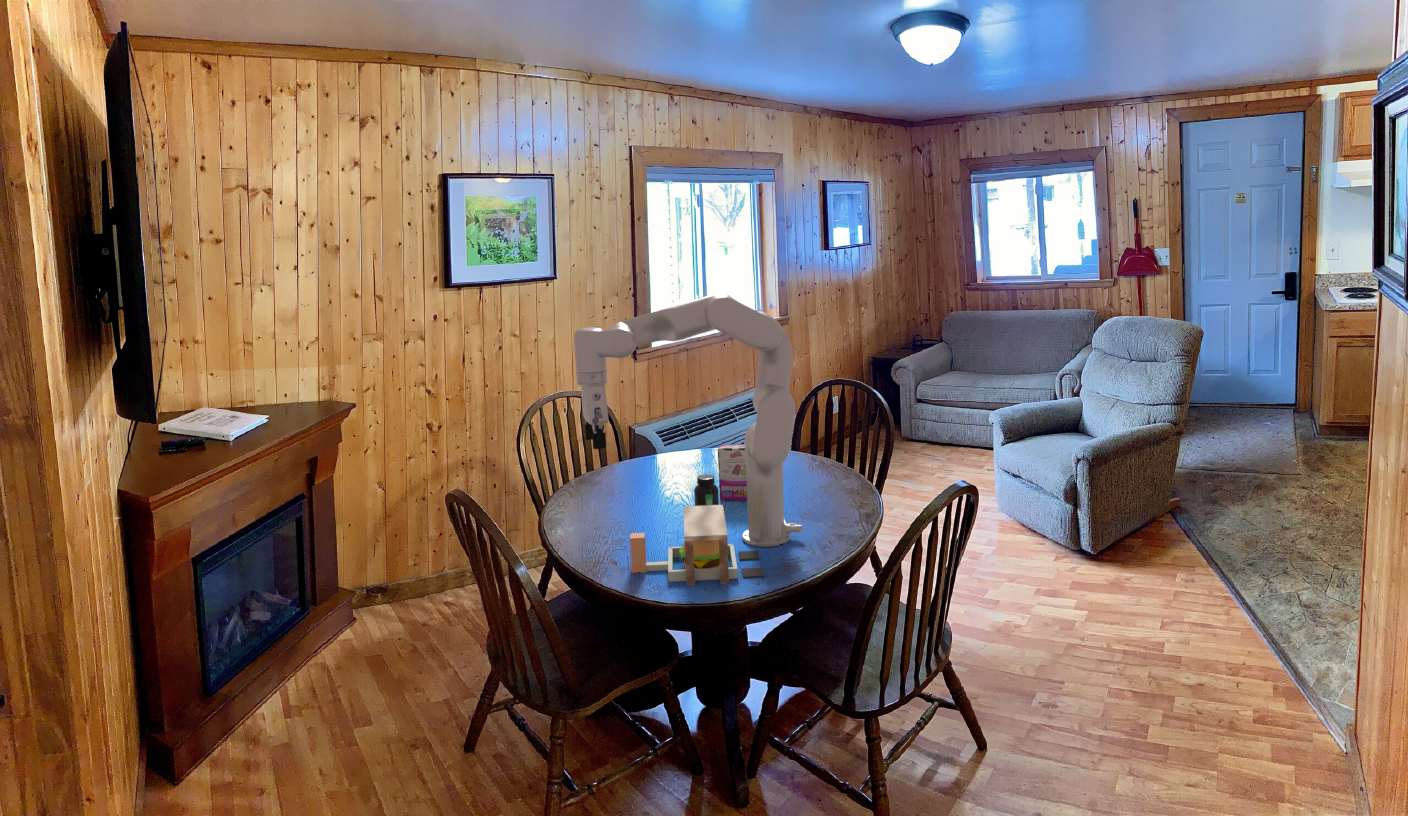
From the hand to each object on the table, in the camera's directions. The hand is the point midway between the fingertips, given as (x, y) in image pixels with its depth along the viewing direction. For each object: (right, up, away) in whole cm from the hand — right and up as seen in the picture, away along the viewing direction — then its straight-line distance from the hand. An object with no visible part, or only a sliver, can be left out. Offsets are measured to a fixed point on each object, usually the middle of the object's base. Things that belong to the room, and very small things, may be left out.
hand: (595, 443), depth 238 cm
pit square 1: (+39, -28, -1) cm, 48 cm away
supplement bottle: (+28, -22, +29) cm, 46 cm away
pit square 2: (+39, -31, -11) cm, 51 cm away
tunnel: (+28, -30, -6) cm, 42 cm away
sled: (+23, -30, -6) cm, 38 cm away
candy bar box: (+38, -18, +44) cm, 61 cm away
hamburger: (+28, -30, -6) cm, 41 cm away
